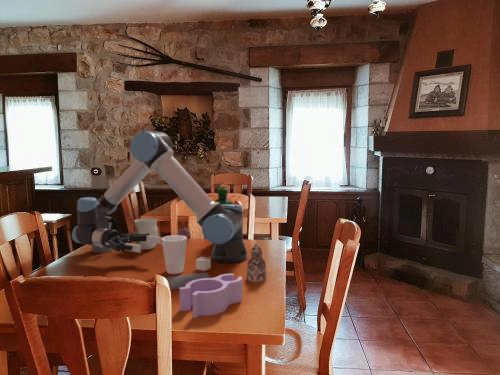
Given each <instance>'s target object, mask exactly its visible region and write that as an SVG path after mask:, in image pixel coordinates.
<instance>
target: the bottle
mask: <svg viewBox="0 0 500 375" xmlns="http://www.w3.org/2000/svg"><path fill="white" fill-rule="evenodd" d="M216 193H217V196H218V198H217V199H215V200H213V202H219V203H220V204H228V205H234V204H233V202H232V200H230V199H228V198H227V197H228V194H229V191H228V188H226V185H219V188H217V191H216Z"/></svg>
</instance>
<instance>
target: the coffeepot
mask: <svg viewBox="0 0 500 375" xmlns="http://www.w3.org/2000/svg"><path fill="white" fill-rule="evenodd" d="M112 223H113V224H112ZM97 227H98V228H105V229H111V228H112V230H117V227H118V220H116V218H114V217H111V216H108V215H105V216H101V217H99V218H97ZM112 251H113V249H111V248H106V247H102V248H100V246H94V245H91V252H92V253H95V254H104V253H105V254H106V253H110V252H112Z"/></svg>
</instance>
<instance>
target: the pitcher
mask: <svg viewBox="0 0 500 375" xmlns="http://www.w3.org/2000/svg"><path fill="white" fill-rule="evenodd" d="M133 222H134V225H135V227H134V230H133V234H147V233H148V234H150V236H156V237H159V228H158V226H157V225H158V219H157V218H155V217H144V218H138V219H134V221H133ZM135 244H137V245H141V250H152V249H154V248H155V246H156V245H157V244H156V243H149V242H146V241H142V242H135Z"/></svg>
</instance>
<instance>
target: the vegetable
mask: <svg viewBox="0 0 500 375" xmlns="http://www.w3.org/2000/svg"><path fill="white" fill-rule="evenodd" d="M190 234H191V231H190V229H188V228H187V227H185V221H183V222H182V223H181V228H180V229H178V231H177V235H181V236H185V237H187V239H188V238H189V237H190Z"/></svg>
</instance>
